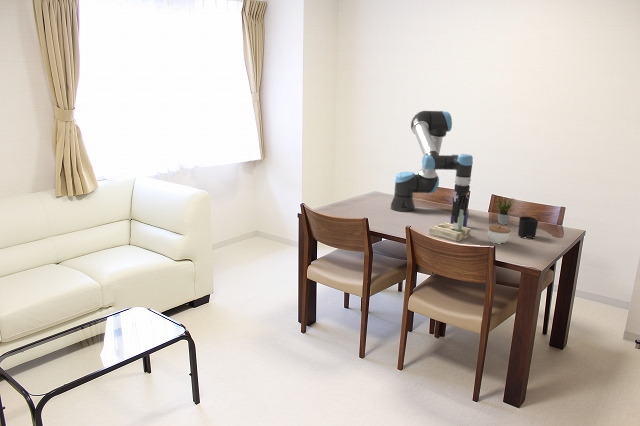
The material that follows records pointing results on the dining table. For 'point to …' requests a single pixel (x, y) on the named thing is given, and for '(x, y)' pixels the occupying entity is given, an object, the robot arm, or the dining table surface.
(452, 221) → the blue green box
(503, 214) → the house plant
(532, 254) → the dining table surface
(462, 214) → the dowel
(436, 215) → the dining table surface
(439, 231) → the socket board
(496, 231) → the lidded jar
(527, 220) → the pen holder
